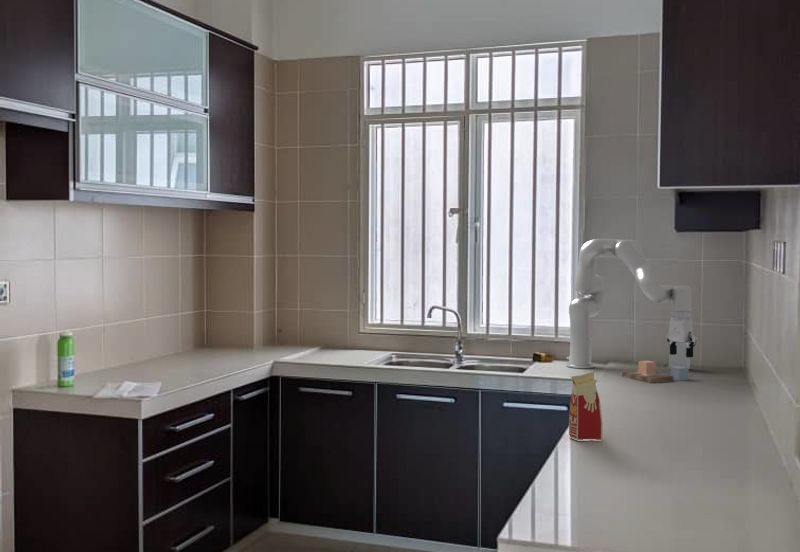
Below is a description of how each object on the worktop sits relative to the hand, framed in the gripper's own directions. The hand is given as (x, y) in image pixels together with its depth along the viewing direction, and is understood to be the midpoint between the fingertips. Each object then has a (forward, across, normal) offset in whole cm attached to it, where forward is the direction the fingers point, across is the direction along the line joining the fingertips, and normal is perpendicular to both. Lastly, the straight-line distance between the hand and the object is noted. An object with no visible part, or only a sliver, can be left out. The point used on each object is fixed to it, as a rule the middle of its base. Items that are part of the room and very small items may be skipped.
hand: (681, 355), depth 341 cm
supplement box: (+10, -21, +18) cm, 29 cm away
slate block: (+10, -1, 0) cm, 10 cm away
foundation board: (+10, -7, -12) cm, 17 cm away
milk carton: (+10, +68, -98) cm, 120 cm away
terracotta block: (+7, -7, -12) cm, 16 cm away
